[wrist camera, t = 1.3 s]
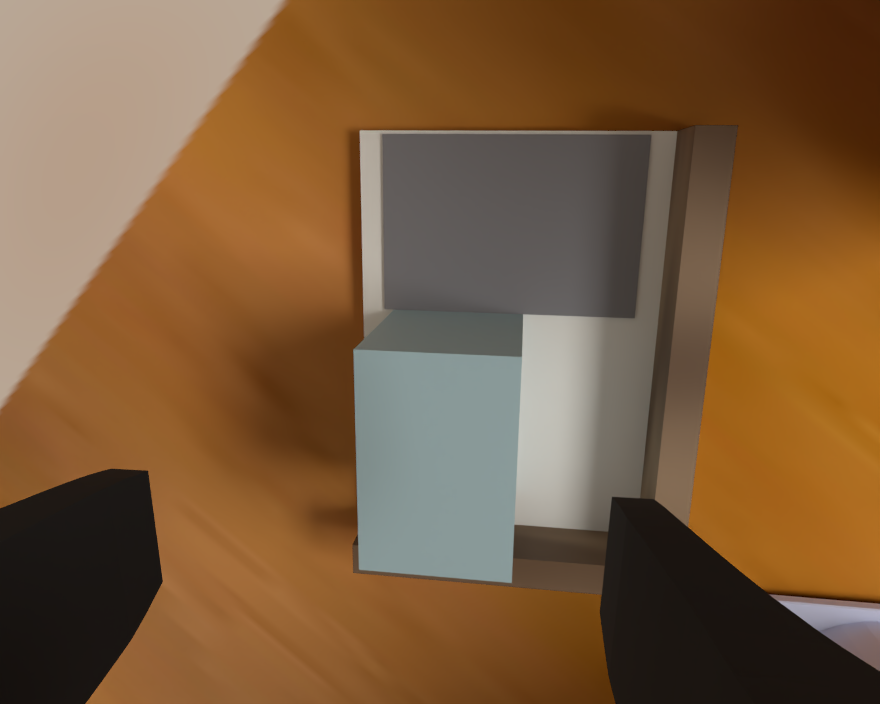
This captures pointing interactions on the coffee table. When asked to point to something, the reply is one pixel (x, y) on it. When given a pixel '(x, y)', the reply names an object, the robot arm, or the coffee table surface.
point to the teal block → (438, 443)
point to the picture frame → (565, 306)
